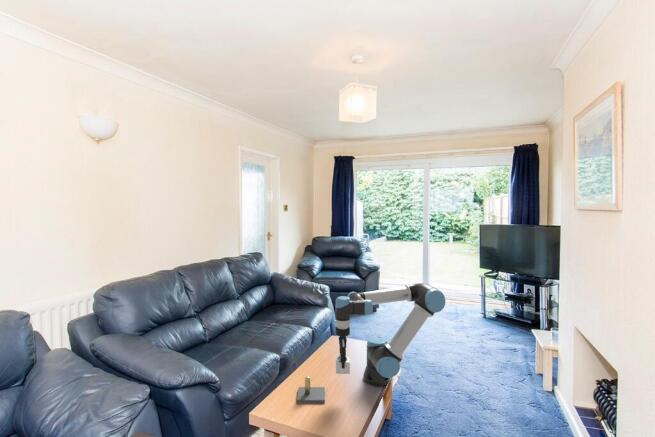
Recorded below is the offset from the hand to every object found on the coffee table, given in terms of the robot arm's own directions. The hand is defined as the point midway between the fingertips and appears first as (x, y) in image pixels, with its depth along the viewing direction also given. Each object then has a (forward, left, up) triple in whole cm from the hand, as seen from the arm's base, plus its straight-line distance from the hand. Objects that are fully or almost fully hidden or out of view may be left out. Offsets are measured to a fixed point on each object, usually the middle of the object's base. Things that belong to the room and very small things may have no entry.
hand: (342, 369), depth 178 cm
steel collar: (0, 0, 0) cm, 0 cm away
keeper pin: (+18, 0, -13) cm, 22 cm away
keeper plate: (+16, 0, -14) cm, 22 cm away
